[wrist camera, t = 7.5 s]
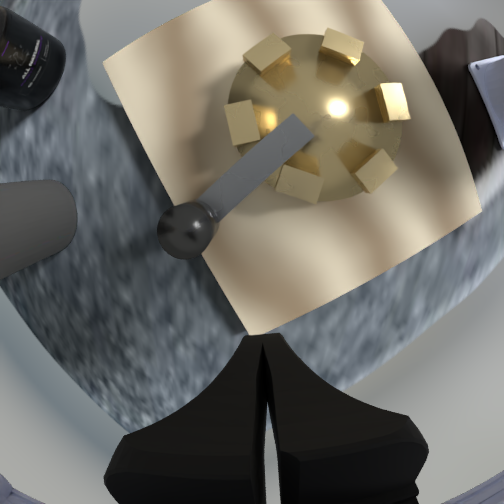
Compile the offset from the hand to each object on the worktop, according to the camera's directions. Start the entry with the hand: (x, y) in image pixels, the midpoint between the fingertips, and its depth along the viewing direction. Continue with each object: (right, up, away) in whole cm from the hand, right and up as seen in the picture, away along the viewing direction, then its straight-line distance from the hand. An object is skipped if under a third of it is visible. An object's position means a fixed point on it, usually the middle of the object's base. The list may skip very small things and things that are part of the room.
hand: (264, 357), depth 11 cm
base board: (+3, +12, +8) cm, 15 cm away
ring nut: (+1, +10, +7) cm, 12 cm away
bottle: (-16, +7, +9) cm, 20 cm away
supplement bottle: (-18, +19, +6) cm, 27 cm away
